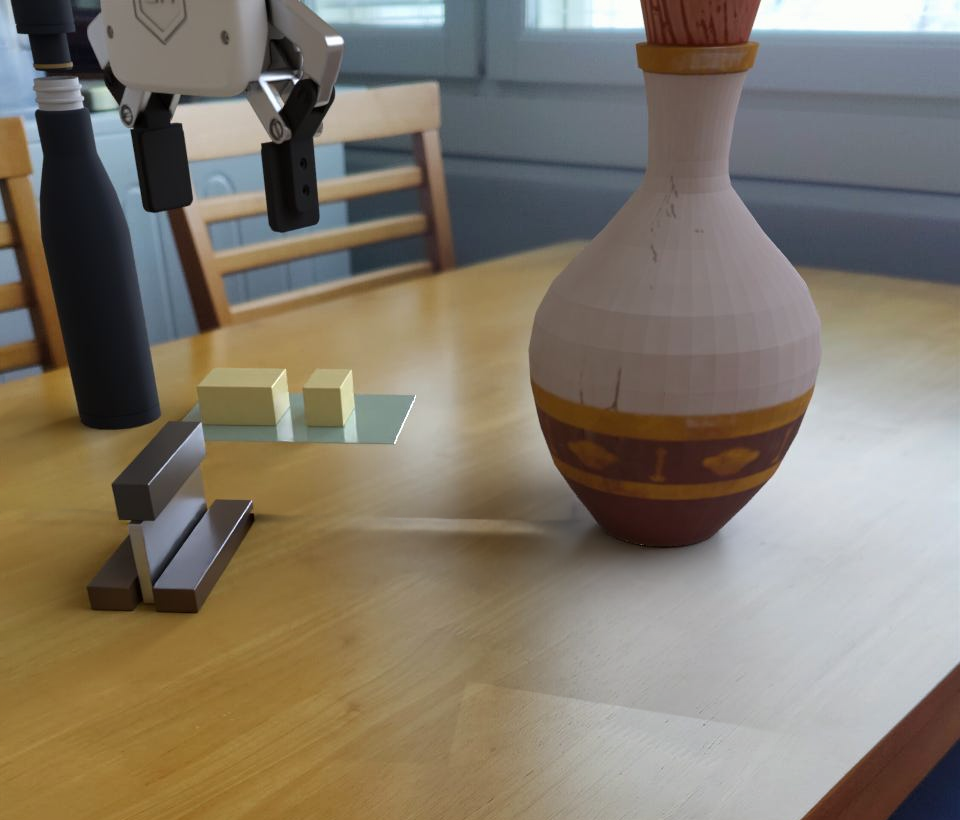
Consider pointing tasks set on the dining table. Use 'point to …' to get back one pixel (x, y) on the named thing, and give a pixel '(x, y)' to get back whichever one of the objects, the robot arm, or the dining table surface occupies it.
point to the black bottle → (86, 240)
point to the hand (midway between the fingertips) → (230, 218)
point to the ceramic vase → (677, 312)
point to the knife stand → (177, 564)
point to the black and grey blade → (162, 498)
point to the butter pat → (328, 397)
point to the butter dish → (365, 425)
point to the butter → (243, 396)
